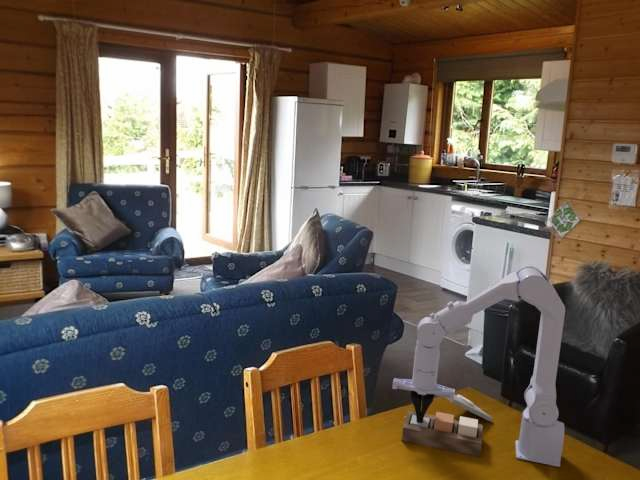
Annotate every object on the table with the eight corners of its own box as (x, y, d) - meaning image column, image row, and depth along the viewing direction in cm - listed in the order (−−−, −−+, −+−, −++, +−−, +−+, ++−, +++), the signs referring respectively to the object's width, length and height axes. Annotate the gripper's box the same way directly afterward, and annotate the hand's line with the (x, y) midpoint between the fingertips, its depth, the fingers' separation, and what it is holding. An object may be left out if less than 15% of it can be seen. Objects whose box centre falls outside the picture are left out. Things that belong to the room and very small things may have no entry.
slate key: (428, 429, 147) (429, 418, 146) (426, 437, 143) (427, 426, 143) (411, 426, 148) (412, 414, 148) (408, 434, 144) (410, 422, 144)
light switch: (494, 415, 155) (456, 396, 148) (483, 435, 155) (444, 417, 148) (474, 400, 162) (437, 381, 156) (463, 419, 162) (426, 401, 156)
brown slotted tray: (480, 438, 146) (482, 424, 146) (479, 457, 138) (481, 443, 137) (407, 423, 151) (408, 410, 150) (401, 440, 142) (403, 427, 142)
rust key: (452, 426, 145) (454, 415, 145) (451, 434, 141) (452, 423, 141) (435, 423, 146) (436, 411, 146) (433, 431, 142) (434, 419, 142)
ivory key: (476, 431, 144) (477, 419, 143) (475, 439, 140) (477, 427, 139) (458, 427, 145) (459, 416, 144) (457, 436, 141) (458, 424, 140)
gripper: (392, 368, 140) (387, 422, 143) (455, 380, 137) (449, 434, 139) (397, 357, 147) (392, 409, 150) (457, 368, 143) (451, 420, 146)
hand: (419, 420), depth 145 cm, fingers closed, pressing on slate key
